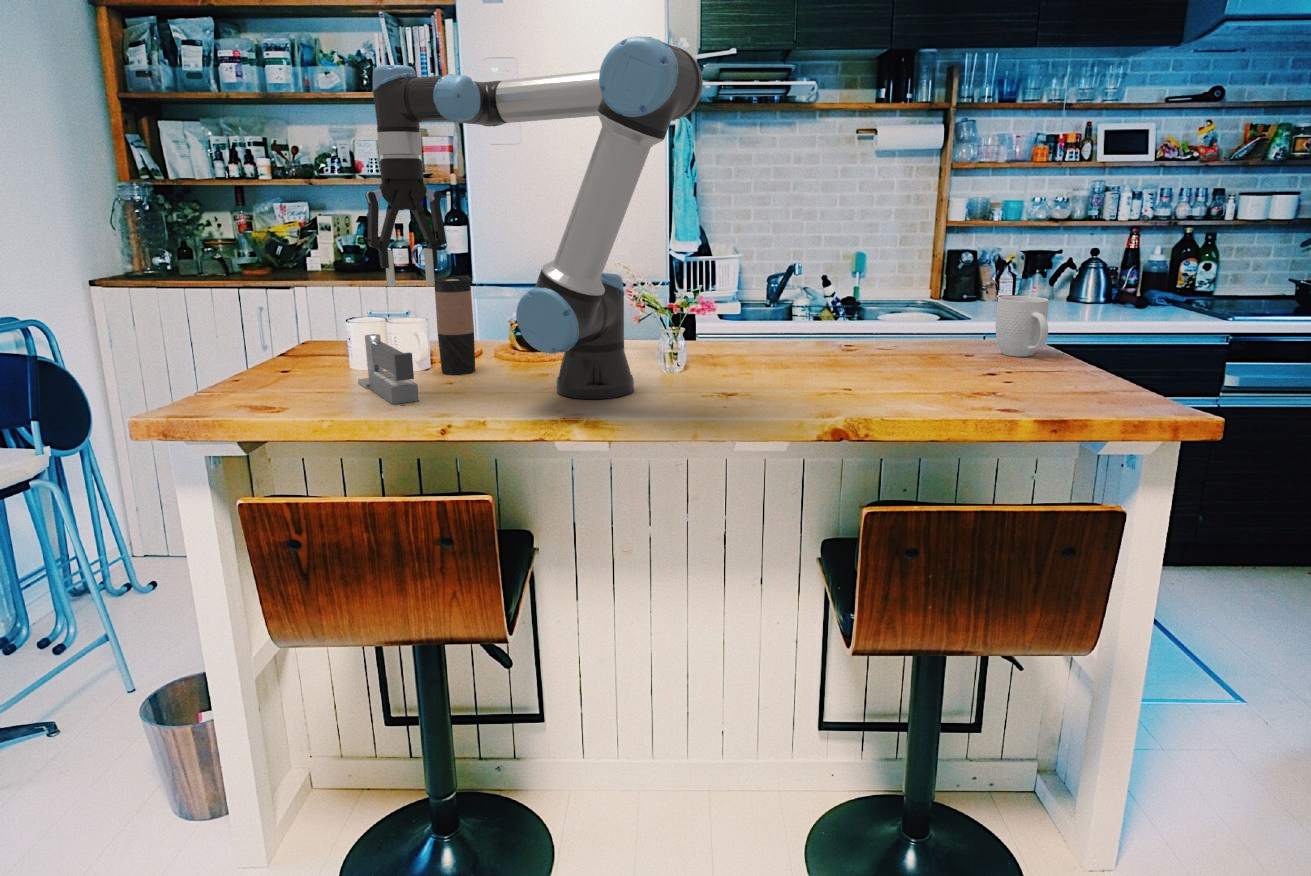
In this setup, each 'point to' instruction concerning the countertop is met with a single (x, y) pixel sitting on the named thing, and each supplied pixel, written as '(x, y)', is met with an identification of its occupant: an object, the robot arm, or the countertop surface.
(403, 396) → the label block
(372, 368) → the post
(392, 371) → the bar
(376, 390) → the label block
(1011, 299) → the mug
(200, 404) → the countertop surface
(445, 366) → the travel mug
